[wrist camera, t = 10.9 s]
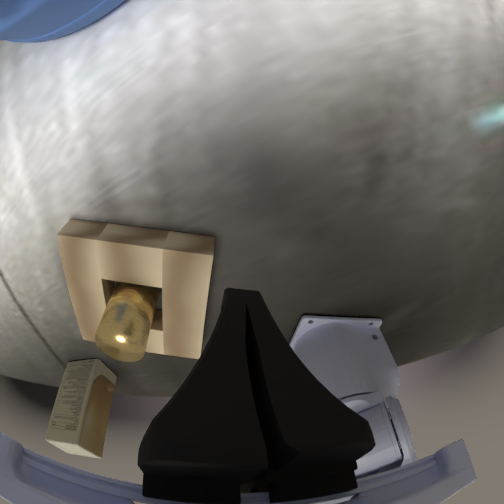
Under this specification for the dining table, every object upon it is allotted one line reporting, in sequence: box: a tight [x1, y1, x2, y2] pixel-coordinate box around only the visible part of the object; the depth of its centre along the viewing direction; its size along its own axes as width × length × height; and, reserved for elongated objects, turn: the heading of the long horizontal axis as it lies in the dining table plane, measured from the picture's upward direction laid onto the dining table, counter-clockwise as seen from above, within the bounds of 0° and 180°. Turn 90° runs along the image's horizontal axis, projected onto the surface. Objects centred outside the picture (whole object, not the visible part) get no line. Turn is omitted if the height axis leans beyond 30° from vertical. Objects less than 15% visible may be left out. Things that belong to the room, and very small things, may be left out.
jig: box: [57, 219, 215, 359], centre depth 23 cm, size 12×12×2 cm
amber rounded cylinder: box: [95, 281, 161, 362], centre depth 21 cm, size 4×4×7 cm
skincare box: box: [45, 359, 117, 458], centre depth 26 cm, size 6×4×12 cm
